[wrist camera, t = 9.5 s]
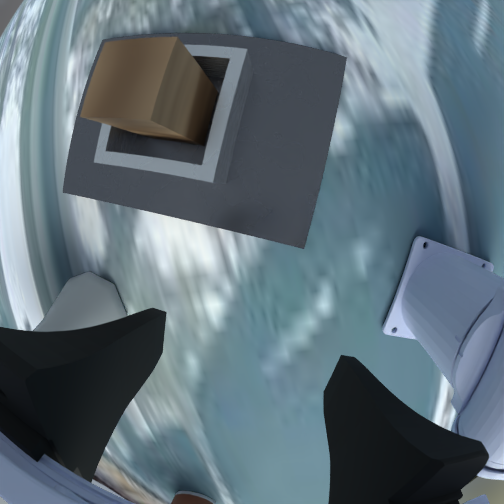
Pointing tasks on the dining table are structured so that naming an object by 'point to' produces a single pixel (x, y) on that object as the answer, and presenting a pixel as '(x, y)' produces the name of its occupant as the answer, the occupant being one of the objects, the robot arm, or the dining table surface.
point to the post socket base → (226, 142)
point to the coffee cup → (191, 498)
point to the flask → (83, 305)
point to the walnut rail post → (151, 90)
